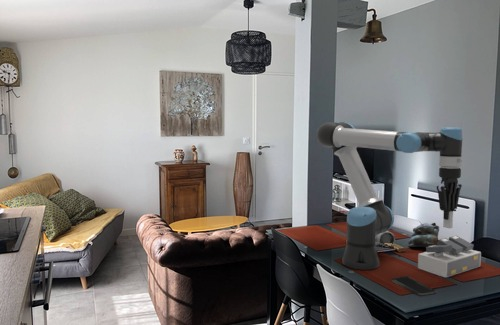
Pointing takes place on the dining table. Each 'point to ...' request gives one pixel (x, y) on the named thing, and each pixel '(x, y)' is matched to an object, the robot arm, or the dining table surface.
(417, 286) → the phone
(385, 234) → the ceramic mug
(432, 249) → the block
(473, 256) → the switch unit
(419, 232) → the lucky cat figurine
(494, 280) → the dining table surface
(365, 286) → the dining table surface
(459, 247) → the rocker
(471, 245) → the rocker
